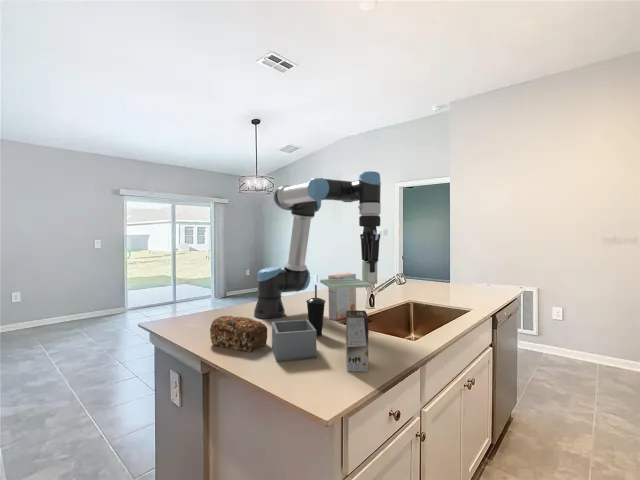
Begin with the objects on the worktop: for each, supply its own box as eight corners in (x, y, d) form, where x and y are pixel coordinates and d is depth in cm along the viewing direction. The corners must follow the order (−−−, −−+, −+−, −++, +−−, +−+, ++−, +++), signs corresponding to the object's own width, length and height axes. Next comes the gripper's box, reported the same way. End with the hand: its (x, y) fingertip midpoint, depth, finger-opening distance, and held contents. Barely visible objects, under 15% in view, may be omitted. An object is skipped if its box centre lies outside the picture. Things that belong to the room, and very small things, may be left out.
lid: (320, 282, 121) (320, 260, 121) (368, 280, 126) (368, 259, 125) (331, 288, 106) (331, 264, 106) (385, 286, 111) (385, 262, 111)
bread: (209, 345, 119) (209, 318, 118) (229, 337, 128) (229, 312, 128) (250, 354, 110) (250, 324, 110) (268, 344, 120) (268, 317, 120)
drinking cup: (323, 338, 126) (323, 286, 126) (304, 337, 128) (304, 286, 127) (327, 332, 134) (327, 283, 133) (308, 331, 135) (308, 283, 135)
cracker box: (347, 313, 165) (347, 272, 165) (356, 316, 161) (356, 273, 161) (327, 318, 156) (327, 274, 156) (336, 321, 151) (336, 276, 151)
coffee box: (369, 372, 95) (369, 317, 95) (347, 372, 96) (347, 317, 95) (365, 360, 104) (365, 310, 104) (345, 359, 105) (345, 309, 104)
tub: (271, 347, 117) (271, 321, 116) (307, 344, 120) (307, 319, 120) (276, 361, 103) (276, 333, 103) (316, 358, 106) (316, 330, 106)
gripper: (352, 216, 124) (352, 278, 124) (368, 214, 109) (367, 284, 109) (371, 216, 126) (371, 278, 126) (388, 214, 111) (388, 283, 111)
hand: (369, 280), depth 118 cm, fingers closed on lid, 2 cm apart
